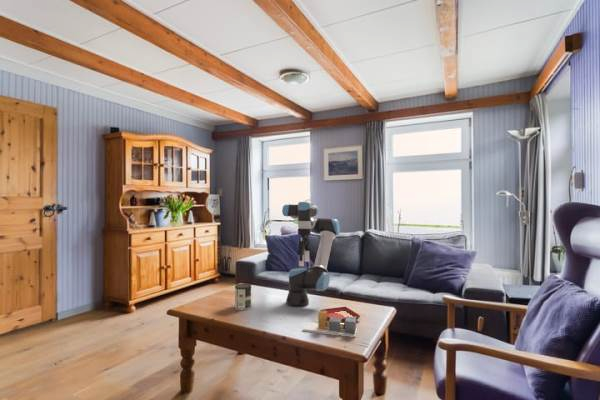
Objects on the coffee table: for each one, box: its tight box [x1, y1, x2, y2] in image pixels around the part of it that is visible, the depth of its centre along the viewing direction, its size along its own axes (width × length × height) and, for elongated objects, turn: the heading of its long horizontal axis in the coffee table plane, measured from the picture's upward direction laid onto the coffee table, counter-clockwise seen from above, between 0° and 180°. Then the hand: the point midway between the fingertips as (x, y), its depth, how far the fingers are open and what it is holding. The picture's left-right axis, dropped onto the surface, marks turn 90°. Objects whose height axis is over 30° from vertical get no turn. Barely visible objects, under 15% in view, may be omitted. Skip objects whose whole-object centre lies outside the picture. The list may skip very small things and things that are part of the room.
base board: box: [302, 322, 358, 338], centre depth 166 cm, size 10×28×1 cm, turn 74°
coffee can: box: [234, 283, 252, 311], centre depth 201 cm, size 10×10×14 cm
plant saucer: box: [321, 306, 361, 323], centre depth 184 cm, size 18×18×3 cm
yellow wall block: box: [317, 309, 345, 330], centre depth 165 cm, size 18×4×8 cm, turn 74°
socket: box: [344, 316, 357, 334], centre depth 163 cm, size 7×5×6 cm
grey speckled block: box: [328, 317, 343, 332], centre depth 165 cm, size 6×6×5 cm
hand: (304, 263), depth 185 cm, fingers open, 13 cm apart
